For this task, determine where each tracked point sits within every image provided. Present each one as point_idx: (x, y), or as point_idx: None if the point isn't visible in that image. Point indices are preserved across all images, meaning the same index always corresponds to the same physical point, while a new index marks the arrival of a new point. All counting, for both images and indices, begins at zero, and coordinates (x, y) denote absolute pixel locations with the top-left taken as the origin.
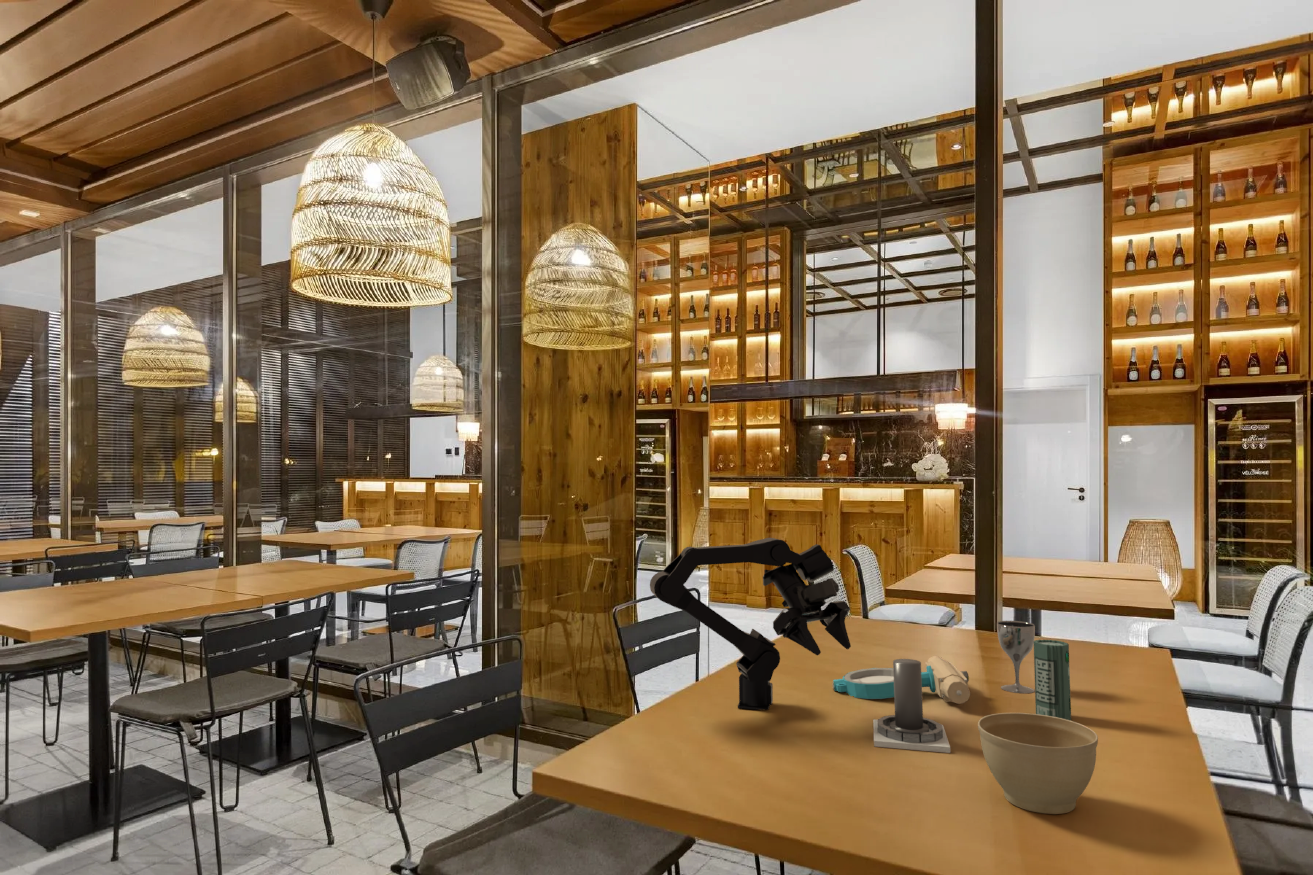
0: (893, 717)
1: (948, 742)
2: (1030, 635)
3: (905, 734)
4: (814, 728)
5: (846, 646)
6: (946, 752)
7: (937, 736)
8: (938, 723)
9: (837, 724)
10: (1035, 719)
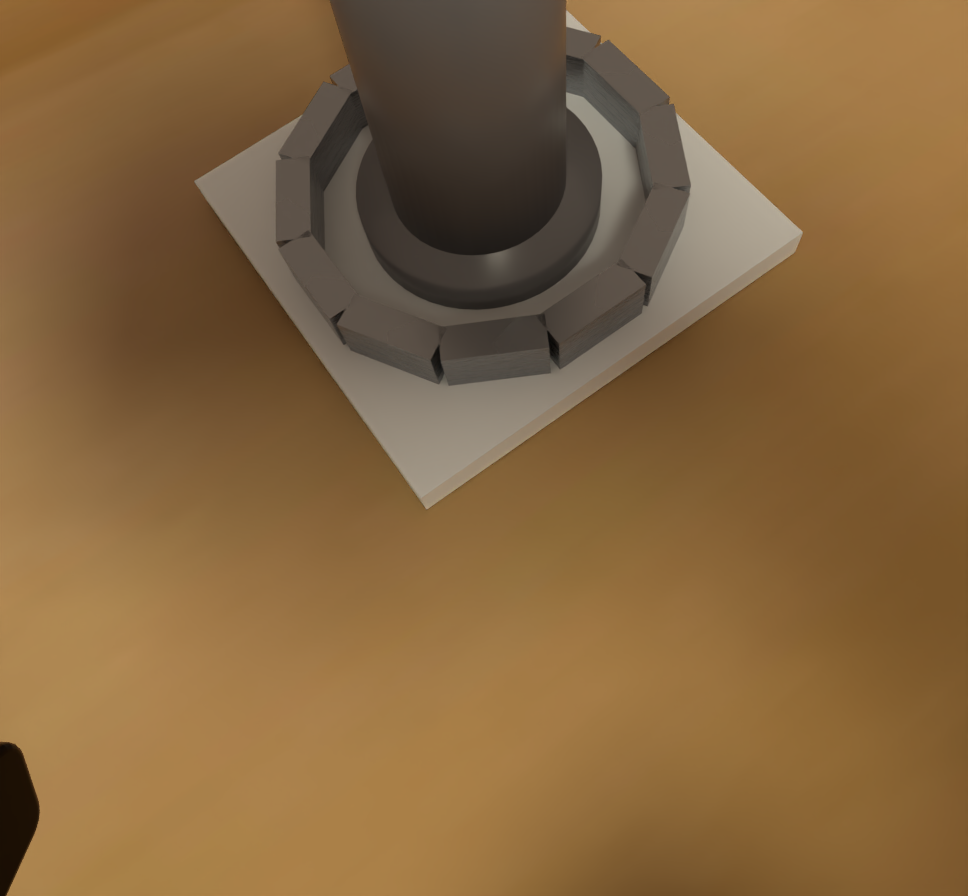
0: (414, 318)
1: None
2: None
3: (660, 92)
4: (878, 738)
5: (6, 833)
6: None
7: None
8: (321, 95)
9: (639, 681)
10: None
